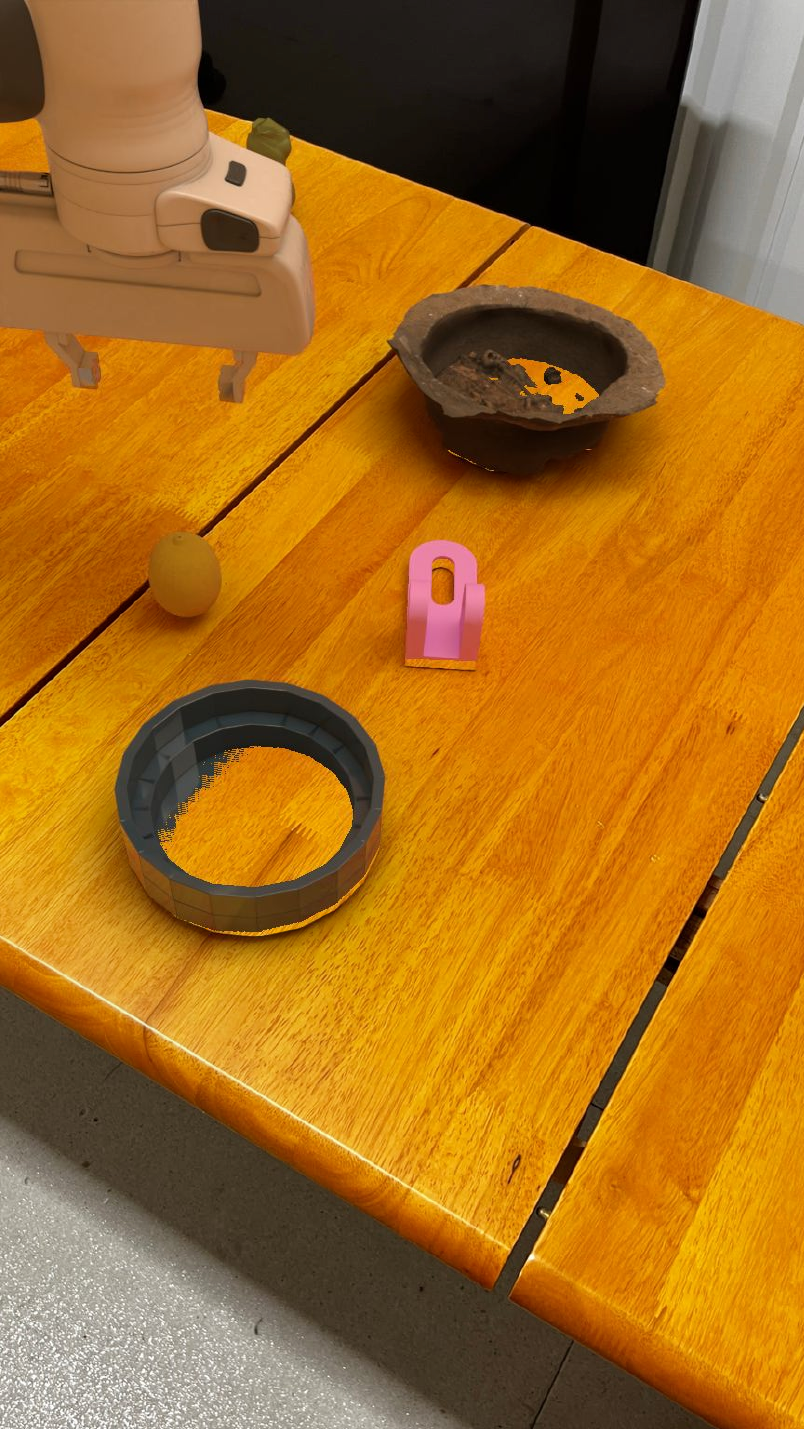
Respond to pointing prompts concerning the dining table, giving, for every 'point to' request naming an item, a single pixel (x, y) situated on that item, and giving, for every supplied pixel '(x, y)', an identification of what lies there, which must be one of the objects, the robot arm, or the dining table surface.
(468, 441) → the stone bowl
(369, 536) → the dining table surface
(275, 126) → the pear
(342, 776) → the dark grey round ring
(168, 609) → the lemon
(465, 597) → the bracket
